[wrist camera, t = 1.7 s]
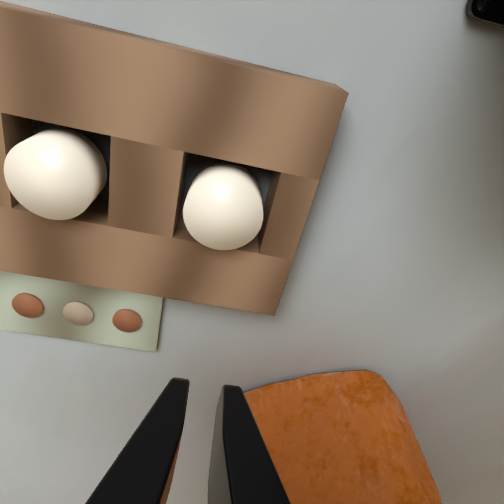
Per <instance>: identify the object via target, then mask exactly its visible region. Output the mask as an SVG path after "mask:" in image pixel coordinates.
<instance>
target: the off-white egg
mask: <svg viewBox="0 0 504 504" xmlns="http://www.w3.org/2000/svg"><path fill="white" fill-rule="evenodd" d="M4 176H5V180H6V183H7V186H8V188H9V190H10V191H11V193H12V195H13V196H14V197H15V198H16V200H17V201H18V202H19V203H20V204H21V205H23V206H24V207H25V208H26V209H28V210H29V211H31V212H32V213H34V214H36V215H38V216H41V217H44V218H47V219H52V220H67V219H72V218H74V217H77V216H78V215H80V214H81V213H83V212H84V211H85V210H86V209H87V207H88V206H89V205H90V204H91V203H92V202H93V200H94V199H95V198H96V197H97V196H98V195H99V193H100V192H101V191H102V189H103V188H104V186H105V184H106V180H107V167H106V163H105V160H104V158H103V156H102V154H101V152H100V151H99V149H98V148H97V147H96V145H95V144H94V143H93V142H92V141H91V140H89V139H88V138H87V137H85V136H84V135H82V134H80V133H79V132H76V131H74V130H71V129H68V128H62V127H55V128H49V129H45V130H43V131H41V132H39V133H37V134H35V135H33V136H32V137H30V138H28V139H26V140H24V141H22V142H20V143H18V144H17V145H15V146H14V147H13V148H12V149H11V150H10V151H9V153H8V154H7V156H6V158H5V162H4Z"/></svg>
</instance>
